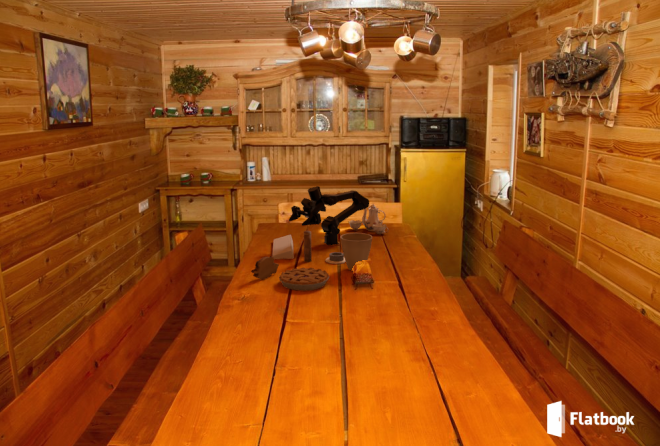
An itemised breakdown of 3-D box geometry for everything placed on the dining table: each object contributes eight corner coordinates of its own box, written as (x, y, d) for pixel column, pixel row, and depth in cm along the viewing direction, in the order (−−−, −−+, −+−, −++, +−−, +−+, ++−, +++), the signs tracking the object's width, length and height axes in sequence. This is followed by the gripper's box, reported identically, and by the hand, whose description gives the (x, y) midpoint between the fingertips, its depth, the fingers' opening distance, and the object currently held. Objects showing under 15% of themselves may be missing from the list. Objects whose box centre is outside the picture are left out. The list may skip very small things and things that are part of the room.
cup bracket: (327, 257, 286) (327, 250, 285) (348, 258, 285) (348, 251, 284) (324, 263, 275) (324, 256, 275) (346, 264, 274) (346, 257, 273)
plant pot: (334, 268, 267) (334, 236, 264) (358, 262, 276) (358, 231, 273) (354, 276, 256) (354, 242, 252) (378, 270, 265) (378, 237, 261)
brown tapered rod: (309, 259, 282) (309, 230, 279) (312, 261, 279) (312, 232, 276) (303, 260, 281) (302, 231, 278) (305, 262, 278) (305, 232, 274)
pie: (293, 273, 260) (292, 263, 259) (336, 279, 252) (336, 268, 251) (270, 288, 241) (270, 277, 240) (317, 295, 232) (316, 283, 231)
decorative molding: (275, 264, 284) (294, 259, 284) (272, 256, 283) (291, 250, 283) (276, 247, 317) (293, 242, 318) (273, 239, 316) (290, 234, 316)
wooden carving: (271, 272, 262) (270, 251, 260) (279, 273, 260) (279, 253, 258) (249, 282, 248) (248, 260, 246) (257, 283, 246) (257, 262, 244)
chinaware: (344, 233, 344) (342, 207, 339) (357, 225, 357) (356, 200, 352) (385, 238, 330) (384, 211, 325) (397, 230, 343) (396, 204, 338)
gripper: (299, 191, 302) (279, 205, 292) (325, 199, 291) (306, 213, 281) (303, 209, 308) (283, 223, 298) (329, 217, 297) (309, 232, 287)
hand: (295, 222), depth 291 cm, fingers open, 9 cm apart
